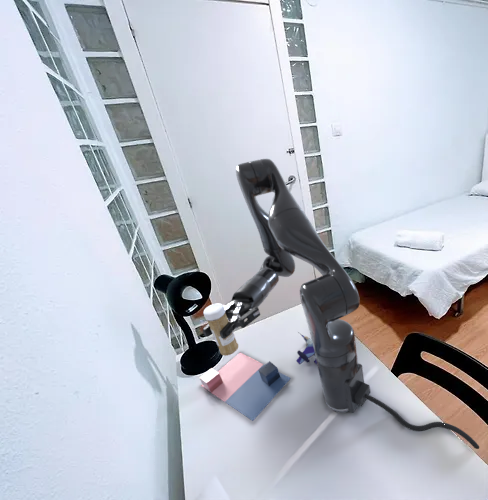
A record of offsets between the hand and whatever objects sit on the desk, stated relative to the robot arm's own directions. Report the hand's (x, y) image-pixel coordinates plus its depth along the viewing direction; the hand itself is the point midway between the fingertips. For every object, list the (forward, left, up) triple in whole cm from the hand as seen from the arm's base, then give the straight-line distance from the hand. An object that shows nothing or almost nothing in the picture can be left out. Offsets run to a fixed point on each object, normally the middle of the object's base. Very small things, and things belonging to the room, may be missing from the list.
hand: (213, 334), depth 67 cm
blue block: (-8, -6, -17) cm, 20 cm away
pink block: (+5, +3, -17) cm, 18 cm away
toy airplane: (-13, -19, -18) cm, 29 cm away
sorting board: (-2, -2, -18) cm, 18 cm away
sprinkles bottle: (+1, -3, -8) cm, 8 cm away
